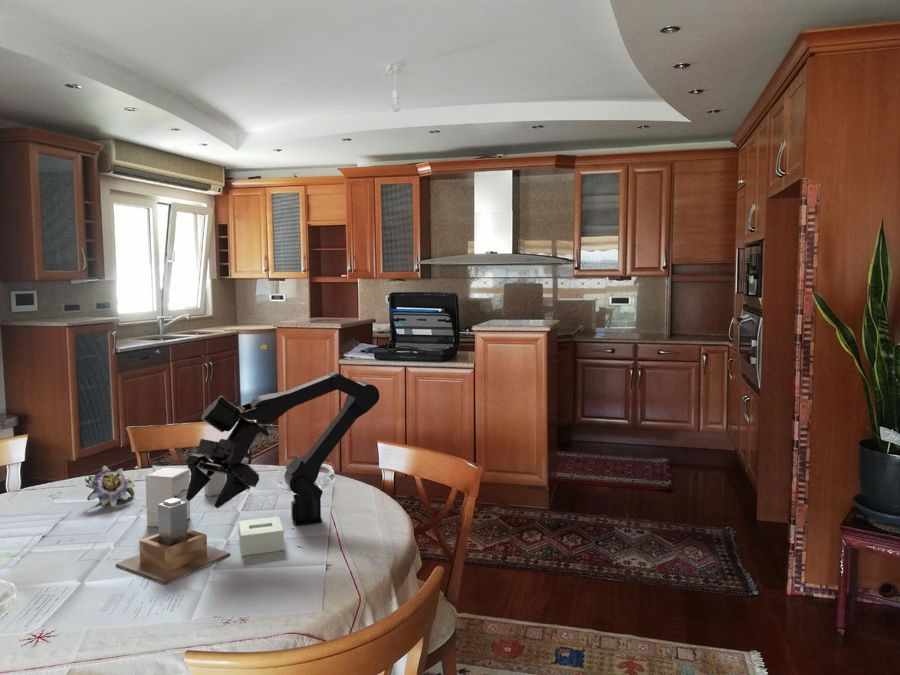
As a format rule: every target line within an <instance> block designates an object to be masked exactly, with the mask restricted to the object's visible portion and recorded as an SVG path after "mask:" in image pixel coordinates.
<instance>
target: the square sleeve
mask: <svg viewBox="0 0 900 675" xmlns="http://www.w3.org/2000/svg"><path fill="white" fill-rule="evenodd" d="M187 530H188V540H186V541H183V542H181V543H178V544H176V545H173V546H171V547H168V546H165V545H162V544H159V532H158V533H155V534H152V535H150V536H147V537H145V538H142V539H140V540H139V541H138V542H139V554H136V555H134V556H131V557H129V558H126V559H124V560H121V561H119V562H117V563H115V566H116V565H117V566H116V567H118V566H119V567H118V568H120V567H122V568H121V569H123V568H125V569H124V570H126V569H127V570H126V571H128V570H130V571H129V572H131V571H133V572H132V573H134V572H135V573H134V574H136V573H138V574H137V575H139V574H141V575H140V576H142V575H143V576H142V577H144V576H146V577H145V578H147V577H148V578H147V579H150V580H152V579H153V581H155V580H156V581H155V582H157V581H159V582H158V583H160V582H161V583H160V584H163V585H168V584H170V583H172V582H174V581H176V580H178V579H180V577H181V578H182V576H183V577H184V575H185V576H187V575H189V574H191V572H192V573H194V572H196V571H198V570H200V569H202V568H201V567H203V568H205V567H207V566H209V565H211V564H213V562H214V563H216V562H218V561H221V560H223V559H225V558H228V557H229V556H231V552H229V551H226V550H222V549H220V548H216V547H213V546H209V545H208V537H207V536H208V534H205V533H202V532H199V531H197V530H192V529H190V528H187ZM215 561H216V562H215ZM210 563H211V564H210ZM208 564H209V565H208ZM206 565H207V566H206ZM204 566H205V567H204ZM199 568H200V569H199ZM197 569H198V570H197ZM195 570H196V571H195ZM193 571H194V572H193ZM188 573H189V574H188ZM173 580H174V581H173ZM171 581H172V582H171ZM169 582H170V583H169Z"/></svg>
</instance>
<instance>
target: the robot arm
mask: <svg viewBox="0 0 900 675" xmlns="http://www.w3.org/2000/svg"><path fill="white" fill-rule="evenodd" d="M334 391H340V392H342V393H344V394H346V396H345V399H344V402H343V405H342V408H341V409H340V410H339V412H338V413H337V415H336V416H335V417H334V418H333V420H332V421H331V423H330V424H329V425H328V426H327V427H326V429H325V430H324V431H323V433H322V434H321V435H320V437H319V438H318V439H317V440H316V442H315V443H314V444H313V445H312V447H311V448H310V450H308V451H307V453H306V454H305V455H303V456H301V457H300V456H299V455H297V454H295V455H294V457H293V459H292V460H291V462H290V463H289V464H287V465H286V466H285V469H286V470H285V473H284V475H283V476H284V482H285V484H286V485H287V487H288V488H289V490H290V491H291V492H292V493H294V494H293V495H292V496H293V500H292V501H290V512H291V513H290V514H291V516H290V518H291V521H293V523H294V525H295V526H303V525H311V524H317V523H323V518H322V512H321V511H322V510H321V509H322V506H321V505H322V503H321V501H322V500H321V498H322V495H323V490H322V489H321V488H320V487H319V485H318V484H317V482H316V481H317V479H318V477H319V474H320V471H321V468H322V465H323V464H324V462H325V461H326V460H327V459H328V457H329V456H330V454H331V453H332V452H333V450H334V449H336V446H337V445H339V443H340V442H341V440H342V439H343V438H344V437H345V435H346V433H347V432H348V431H349V430H350V428H351V427H352V425H354V423H355V422H356V420H358V419H359V418H360V417H361V416H363V415H366V414H367V413H368V412H369V411H370V410H371V409H372V408H373V407H374V406H375V405H377V404H378V402H379V400H380V391H379V388H378V387H377V386H375V385H374V384H371V383H369V382H367V381H364V380H360V381H359V380H358V381H356V380H355V381H354V380H353V379H350V378H348V377H346V376H344V375H343V374H340V373H339V372H337V371H331V372H329V373H328V374H326V375H324V376H321V377H319V378H316V379H313V380H311V381H308V382H306V383H304V384H300V385H298V386H296V387H293V388H290V389H289V390H285V391H280V392H274V393H273V392H272V393H268V394H267V393H266V394H262V395H258V396H255V397H254V398H253V399H251V401H250V402H247V403H244V404H242V405H237V406H236V405H234V404H233V403H231V402H230V401H228V400H227V399H226V398H225V397H224V396H223V395H219V396H218V397H217V399H214V401H213V402H212V403H211V404H208V406H207V408H205V410H204V411H203V413H202V415H201V417H200V419H201V420H202V421H204V422H205V423H207V424H208V425H210V426H211V427H212V428H214V429H216V430H217V431H219V432H220V433H224V432H230V431H231V432H230V433H229V435H228V436H227V438H226V439H224V438H220V439H219V440H218V441H214V440H210V439H209V440H208V439H204V438H200V440H199V444H198V447H197V450H196V453H192V454H189V455H188V457H187V458H186V460H185V461H184V462H185V464H186V465H187V469H189V473H190V478H189V483H190V484H189V488H188V492H187V496H186V499H187V500H188V501H190V502H191V500H193V499H194V498H195V497H196V496H197V495H198V494H199V492H200V491H202V489H204V486H205V485H206V484H207V483H208V482H209V481H210V480H211V478H209V477H210V476H212V475H213V474H214V472H217V473H221V474H226V484H225V486H224V487H223V489H222V491H221V493H220V494H218V495H217V497H216V500H215V503H214V504H213V506H214V507H215V508H216V509H219V508H221V507H223V505H224V504H226V503H227V502H229V501H230V500H232V499H233V498H235V497H236V496H239V495H240V494H242V493H243V492H244V491H246V490H250V489H251V487H252V488H256V486H257V485H258V483H259V481H260V474H259V473H258V472H257V471H256V470H255V469H254V468H252V466H250V465H249V464H248V463H244V460H245V459H250V457H251V456H252V455H251V453H250V450H251V448H252V446H253V445H254V443H255V441H256V440H257V438H258V437H259V438H260V439H261V438H266V437H269V435H270V433H269V430H268V427H267V424H270V423H273V422H274V421H276V420H277V419H279V418H280V417H282V416H284V415H285V414H287V412H288V411H289V410H291V409H293V408H295V407H298V406H300V405H302V404H305V403H307V402H309V401H311V400H312V401H313V400H315V399H317V398H319V397H322V396H324V395H327V394H330V393H331V392H334ZM255 421H257V422H255ZM259 423H260V424H263V425H260V424H259ZM202 454H204V455H202ZM205 455H207V456H205ZM209 459H211V460H213V463H212V462H211V461H210V460H209ZM218 468H220V469H218Z"/></svg>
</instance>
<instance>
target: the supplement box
mask: <svg viewBox="0 0 900 675" xmlns="http://www.w3.org/2000/svg"><path fill="white" fill-rule="evenodd" d="M189 484H190V469H189V468H179V467H163V468H160V469H158V470H156V471H153V472H151V473H149V474H147V475H145V498H146V500H145V501H146V526H147V527H154V526H158V527H157V528H159V524H158V504H160V503H163V502H164V501H165V500H168V499H171V498H176V499H180V500H181V501H184V502H187V520H189V519H190V518H191V500H190V501H188V500H187V499H186V496H187V492H188V488H189Z"/></svg>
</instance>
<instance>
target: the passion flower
mask: <svg viewBox="0 0 900 675" xmlns="http://www.w3.org/2000/svg"><path fill="white" fill-rule="evenodd" d="M122 473H124V470H123V468H122V467H121V468H119V469H117V470H112V469H111V468H108V466H107V465H103V466H102V468H101V471H100V472H98V473H97V474H96V473H95V475H91V474H90V475H88V478H87V477H85V479H84V481H85V483H87V484H86V485H85V487H86V488H90V489H92V490H93V491H92V492H91V493H90V494H88V496H87V498H86V499H87V501H93V500H95V499H96V498H97V499H98V501H99V505H101V507H104V506H106V505H109V507H110V508H115V507H116V505H117V501H118V499H121V500H123V501H127V500H128V494H129V496H131V498H134V496H135V490H134V489H133V488H134V487H135V485H136V484H135V483H134V482H133V481H132V480H131V479H132V476H130V475H125V474H122Z"/></svg>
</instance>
